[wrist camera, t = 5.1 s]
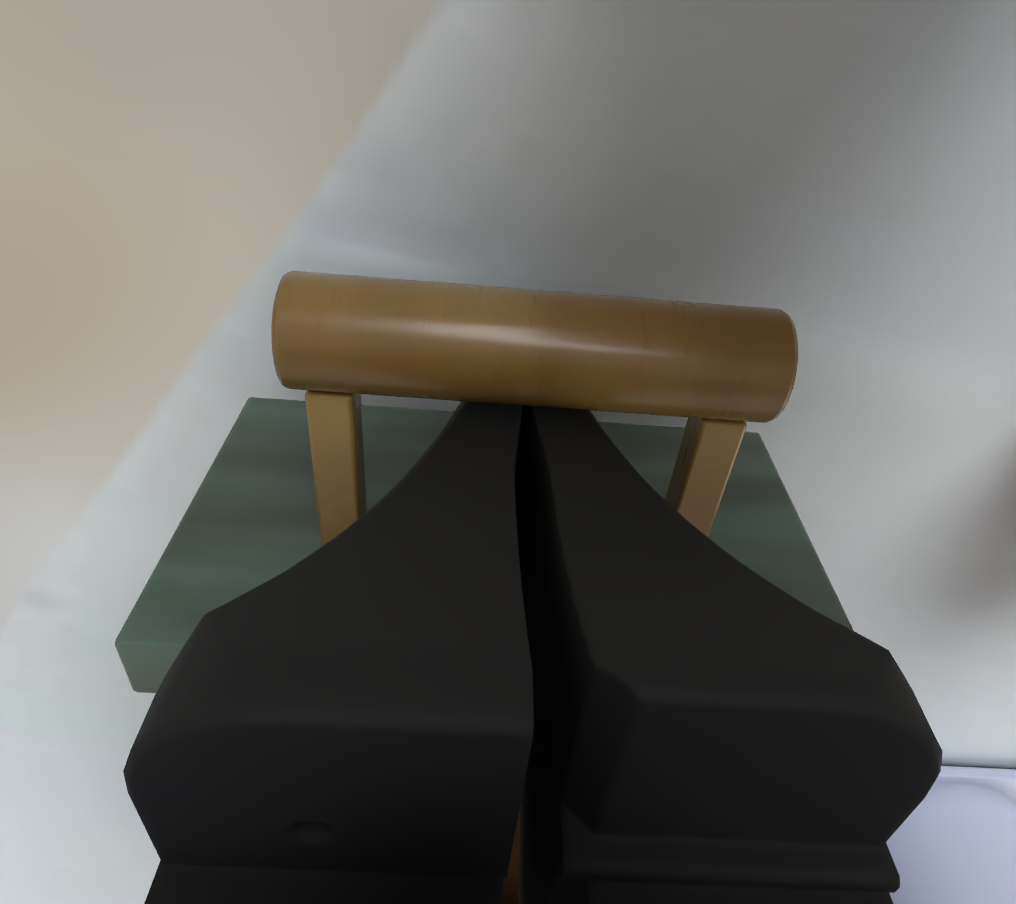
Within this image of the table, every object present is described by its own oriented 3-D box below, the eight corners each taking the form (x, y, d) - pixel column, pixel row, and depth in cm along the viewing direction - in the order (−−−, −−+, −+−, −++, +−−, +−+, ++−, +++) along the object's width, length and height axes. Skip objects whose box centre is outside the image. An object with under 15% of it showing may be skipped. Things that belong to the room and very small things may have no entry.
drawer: (207, 148, 12) (-22, 320, 7) (843, 203, 12) (1074, 400, 7) (304, 728, 22) (243, 964, 17) (644, 745, 23) (682, 980, 18)
